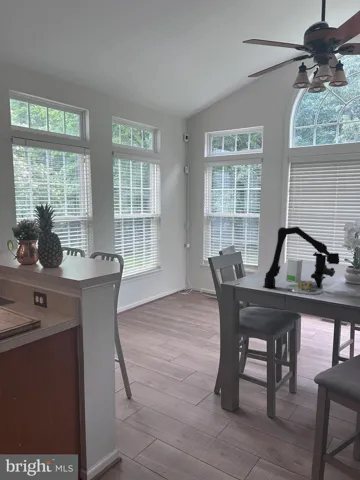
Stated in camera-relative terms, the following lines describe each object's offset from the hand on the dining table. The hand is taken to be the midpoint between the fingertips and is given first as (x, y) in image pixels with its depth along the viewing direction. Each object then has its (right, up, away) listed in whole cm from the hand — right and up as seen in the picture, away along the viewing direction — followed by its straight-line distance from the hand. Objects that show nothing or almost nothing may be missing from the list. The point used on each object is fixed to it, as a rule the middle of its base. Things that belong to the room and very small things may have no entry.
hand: (319, 287), depth 221 cm
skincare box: (-7, +1, +29) cm, 30 cm away
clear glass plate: (-8, -2, +4) cm, 9 cm away
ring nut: (-5, -1, +3) cm, 6 cm away
